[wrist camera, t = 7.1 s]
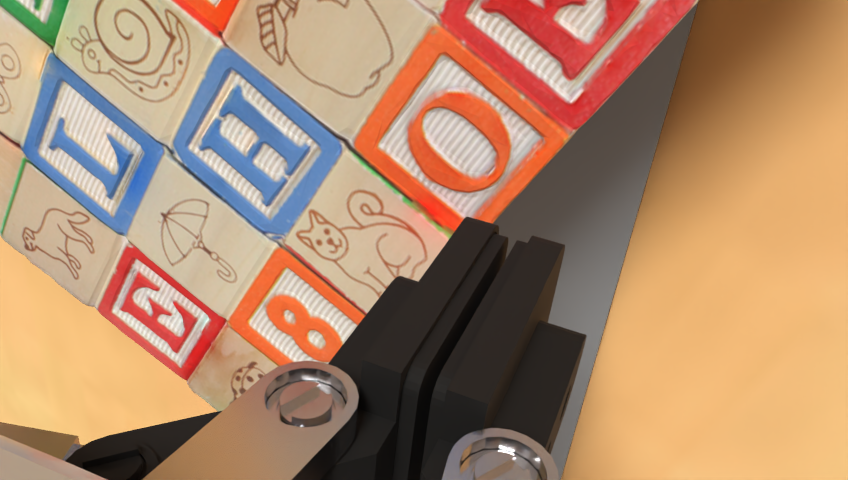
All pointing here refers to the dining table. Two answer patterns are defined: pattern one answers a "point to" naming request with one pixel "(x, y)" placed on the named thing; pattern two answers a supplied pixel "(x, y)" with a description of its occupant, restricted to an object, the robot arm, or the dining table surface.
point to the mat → (597, 205)
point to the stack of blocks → (282, 153)
